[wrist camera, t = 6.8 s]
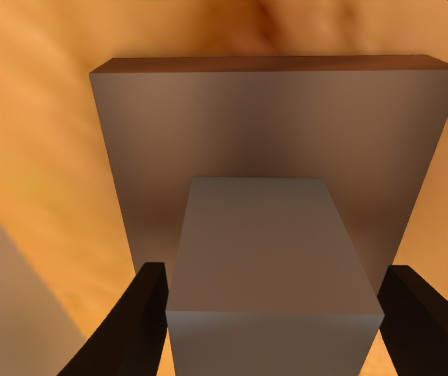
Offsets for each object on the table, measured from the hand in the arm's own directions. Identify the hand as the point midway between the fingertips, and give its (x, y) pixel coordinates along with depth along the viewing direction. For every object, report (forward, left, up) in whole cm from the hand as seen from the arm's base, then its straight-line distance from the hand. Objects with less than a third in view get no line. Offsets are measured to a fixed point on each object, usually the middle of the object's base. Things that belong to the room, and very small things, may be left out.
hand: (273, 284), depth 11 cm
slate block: (0, 0, -3) cm, 3 cm away
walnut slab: (0, 0, -6) cm, 6 cm away
